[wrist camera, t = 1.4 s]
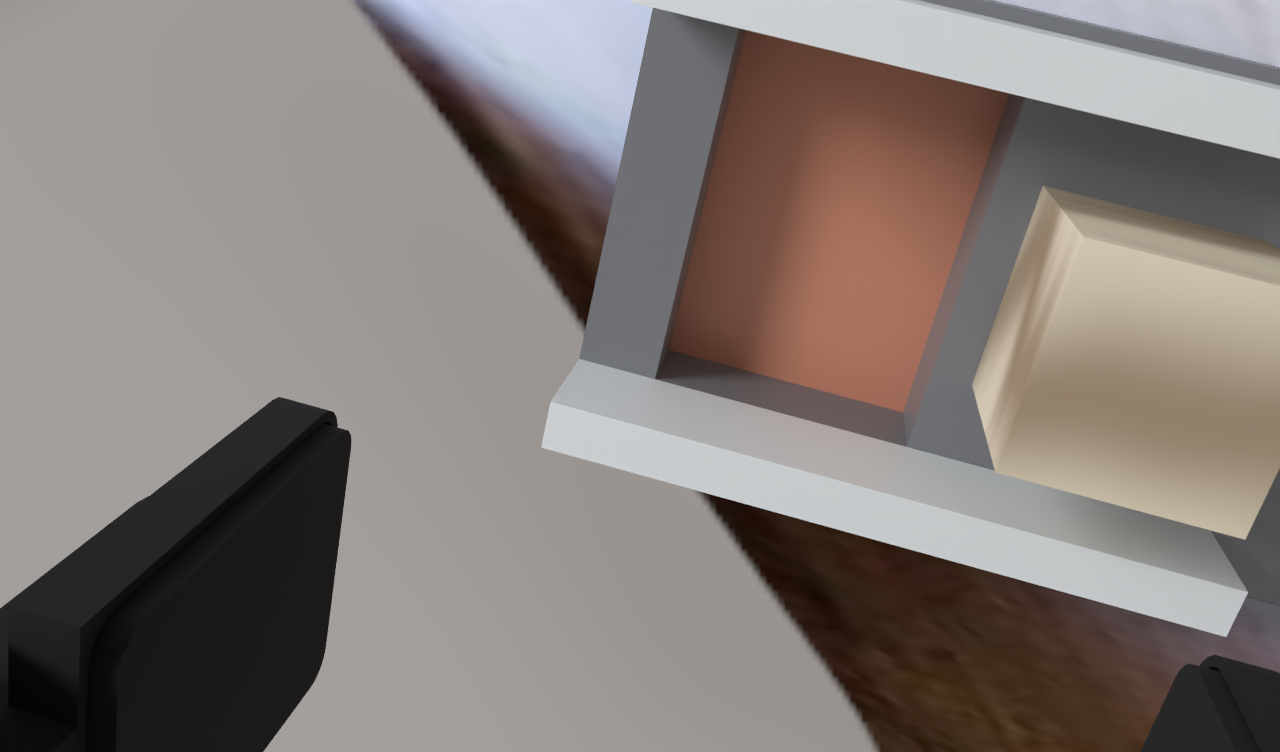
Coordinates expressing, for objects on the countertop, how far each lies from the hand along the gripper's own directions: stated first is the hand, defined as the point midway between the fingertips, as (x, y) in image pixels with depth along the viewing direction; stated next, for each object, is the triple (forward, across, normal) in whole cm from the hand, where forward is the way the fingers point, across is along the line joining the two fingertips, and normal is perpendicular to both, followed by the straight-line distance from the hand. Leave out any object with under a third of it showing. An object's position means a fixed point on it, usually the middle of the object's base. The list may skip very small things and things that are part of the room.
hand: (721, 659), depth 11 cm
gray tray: (+20, -6, 0) cm, 21 cm away
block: (+17, -7, 0) cm, 19 cm away
